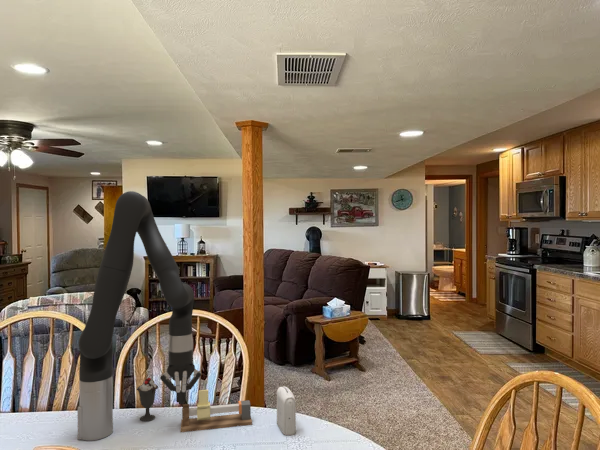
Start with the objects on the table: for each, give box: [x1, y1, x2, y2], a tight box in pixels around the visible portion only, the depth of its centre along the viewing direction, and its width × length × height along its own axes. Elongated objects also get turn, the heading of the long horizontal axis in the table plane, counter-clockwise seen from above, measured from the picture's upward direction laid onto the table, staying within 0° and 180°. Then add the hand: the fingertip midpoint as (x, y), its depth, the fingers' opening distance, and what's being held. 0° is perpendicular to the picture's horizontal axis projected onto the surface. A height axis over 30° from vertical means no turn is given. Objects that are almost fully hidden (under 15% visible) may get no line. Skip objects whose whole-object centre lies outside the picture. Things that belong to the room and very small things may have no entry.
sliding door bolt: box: [189, 399, 252, 420], centre depth 142 cm, size 21×4×5 cm, turn 103°
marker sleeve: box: [196, 389, 211, 420], centre depth 141 cm, size 4×4×8 cm
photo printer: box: [276, 385, 297, 436], centre depth 138 cm, size 10×4×12 cm, turn 17°
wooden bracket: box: [180, 403, 253, 433], centre depth 142 cm, size 22×7×6 cm, turn 103°
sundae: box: [136, 374, 159, 422], centre depth 147 cm, size 7×7×15 cm
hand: (181, 403), depth 140 cm, fingers closed
